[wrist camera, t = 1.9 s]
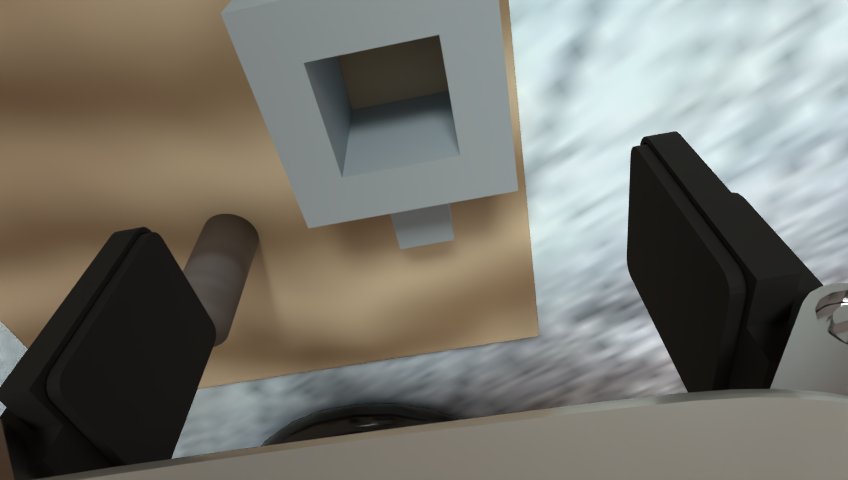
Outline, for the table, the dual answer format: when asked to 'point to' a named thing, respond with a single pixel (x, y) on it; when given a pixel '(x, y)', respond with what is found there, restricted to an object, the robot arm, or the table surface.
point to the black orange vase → (356, 421)
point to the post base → (231, 194)
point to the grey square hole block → (380, 109)
